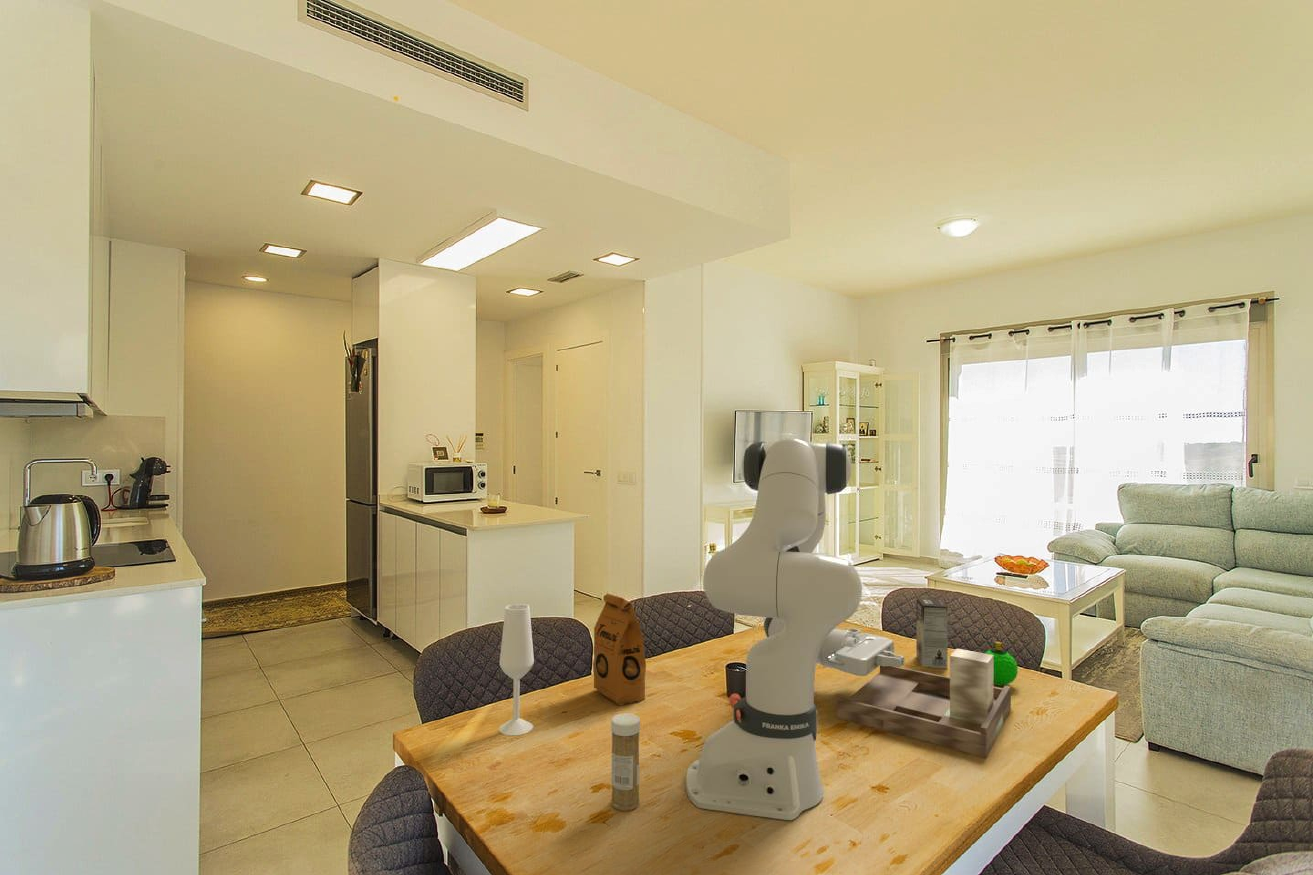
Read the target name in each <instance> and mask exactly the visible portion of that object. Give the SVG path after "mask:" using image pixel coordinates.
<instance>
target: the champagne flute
mask: <svg viewBox="0 0 1313 875" xmlns="http://www.w3.org/2000/svg"><path fill="white" fill-rule="evenodd" d="M530 607H531V606H530V605H528V604H524V603H516V604H510V605H506V606H505V608H504V617H503V626H502V637H501V644H500V656H499V667H500V668H501V670H502V672H503V673H504V674H505V675H506V676H507V677H509V678H510V679H512V680H513V691H512V692H513V695H512V697H513V702H512V704H513V708H512V718H511V719H510V720H507V721H506V722H504V723H503V724H501V725H500V726H499V728H498V731H499V732H500V734H503V735H505V736H520V735H524V734H528V733H529V732H531V731H532V730H533V729H534V725H533V724H532V723H531V722H529V721H527V720H525V719H523V718H520V684H521V683H520V680H521V679H522V678H523V677H524V676H525V675H527V673H528V672H530V670H531V669H532V667H533V665H534V662H535V658H534V644H533V633H532V621H531V610H530V609H531V608H530Z"/></svg>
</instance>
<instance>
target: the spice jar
mask: <svg viewBox="0 0 1313 875" xmlns="http://www.w3.org/2000/svg"><path fill="white" fill-rule="evenodd" d="M610 724H611V725H610V728H611V729H610V731H611V735H612V736H611V739H612V740H611V741H612V742H611V801H610V803H611V806H612V807H613V808H614V809H615V810H618V811H622V812H623V811H624V812H625V811H627V812H628V811H632V810H634V809H636V808H637V807H639V804H640V788H639V787H640V731H641V719H640V717H639V716H638V715H636V714H634V713H630V712H629V713H626V712H625V713H624V712H623V713H619V714H615V715H614V716H613V717H612V718H611V722H610Z"/></svg>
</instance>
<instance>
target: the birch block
mask: <svg viewBox="0 0 1313 875" xmlns="http://www.w3.org/2000/svg"><path fill="white" fill-rule="evenodd" d="M985 653H986V652H978V651H973V650H972V651H971V650H966V649H961V648H956V649H954V651H953V652H951V654H950V655H949V677H950V715H954V716H958V717H962V718H966V719H970V720H975V721H979V722H984V721H985V719H986V717H987V716H988V714H989V712H990V710H991V709H992V707H993V687H994V684H993V661H994V655H990V654H985Z"/></svg>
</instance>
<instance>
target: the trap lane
mask: <svg viewBox="0 0 1313 875" xmlns="http://www.w3.org/2000/svg"><path fill="white" fill-rule="evenodd" d="M1003 686H1004V687H1003V688H1002V687H997V686H993V707H992V709H991V710H990V712H989V714H988V716H987V717H986V719H985V721H984V722H979V721H975V720H970V719H966V718H962V717H958V716H954V715H950V676H945V675H940V674H935V673H931V672H926V671H920V670H915V669H912V668H906V667H902V666H900V667H895V666H879V672H878V673H877V674H876V675H875V676H873V677H872V678H871V679H870V680H869V681H868V682H866V683H865V684H864V685H863V686H862V687H861V688H859V689H858V690H857V691H855V693H853V694H852V695H851V696H850V697H849V698H843V697H840V696H839V697H837V700H836V701H837V713H836V714H837V716H836V717H837V718H838V719H841V720H845V721H849V722H852V723H855V724H859V725H862V726H867V727H871V728H874V729H878V730H882V731H885V732H888V733H893V734H897V735H899V736H904V737H907V738H910V739H915V740H919V741H923V742H925V743H926V742H927V743H929V744H933V745H937V746H940V747H944V748H949V749H952V750H955V751H960V752H964V753H967V754H970V755H974V756H977V757H982V758H987V757H988V754H989V753H990V751H991V748H992V746H993V745H994V743H995V742H996V741H995V740H996V738H997V737H998V734H999V733H1000V730H1001V729H1002V727H1003V725H1004V723H1005V721H1006V719H1007V717H1008V715H1009V713H1010V711H1011V708H1012V706H1011V705H1012V704H1011V703H1012V702H1011V701H1012V700H1011V699H1012V698H1011V696H1012V694H1011V693H1012V692H1011V691H1012V690H1011V686H1008V685H1003Z"/></svg>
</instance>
